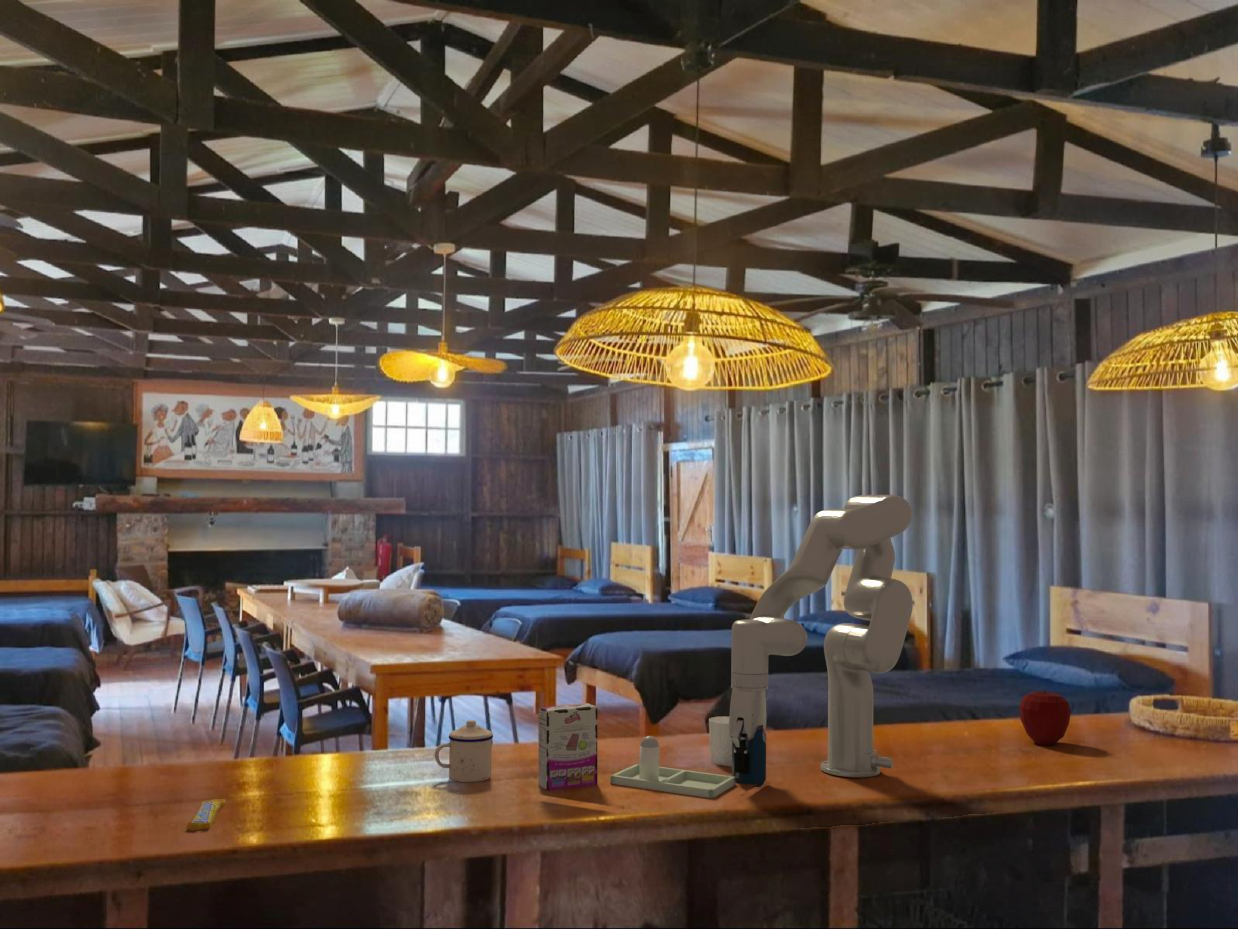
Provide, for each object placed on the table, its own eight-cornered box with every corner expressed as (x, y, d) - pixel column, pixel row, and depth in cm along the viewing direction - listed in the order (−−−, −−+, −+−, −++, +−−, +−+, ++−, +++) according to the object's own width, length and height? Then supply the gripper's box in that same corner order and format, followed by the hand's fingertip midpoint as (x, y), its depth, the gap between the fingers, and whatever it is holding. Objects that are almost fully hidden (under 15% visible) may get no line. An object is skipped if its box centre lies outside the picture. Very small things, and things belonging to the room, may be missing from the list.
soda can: (771, 783, 220) (771, 724, 220) (757, 790, 214) (757, 730, 214) (740, 779, 223) (741, 720, 224) (725, 785, 217) (726, 726, 218)
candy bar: (210, 833, 183) (210, 822, 183) (184, 834, 182) (184, 823, 182) (225, 806, 199) (225, 796, 199) (201, 807, 198) (202, 797, 198)
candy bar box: (587, 783, 218) (588, 702, 218) (598, 789, 213) (599, 706, 214) (536, 789, 212) (537, 706, 213) (546, 795, 208) (547, 710, 209)
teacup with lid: (485, 771, 227) (486, 715, 228) (497, 781, 219) (498, 723, 219) (429, 775, 223) (430, 718, 223) (439, 786, 214) (440, 727, 215)
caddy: (735, 789, 215) (735, 776, 215) (712, 803, 204) (712, 790, 204) (636, 775, 225) (637, 763, 225) (610, 788, 214) (610, 775, 214)
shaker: (662, 779, 218) (662, 735, 218) (653, 784, 214) (654, 739, 214) (644, 777, 219) (645, 733, 220) (635, 781, 216) (636, 736, 216)
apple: (1079, 749, 257) (1079, 693, 257) (1030, 748, 257) (1030, 692, 257) (1059, 738, 269) (1059, 685, 269) (1012, 737, 269) (1012, 684, 269)
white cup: (743, 771, 230) (743, 724, 230) (706, 769, 232) (706, 722, 232) (746, 763, 238) (746, 717, 238) (710, 760, 239) (711, 715, 240)
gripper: (747, 674, 229) (746, 758, 228) (716, 685, 213) (715, 775, 213) (780, 677, 225) (780, 762, 225) (752, 688, 210) (751, 780, 209)
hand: (748, 768), depth 219 cm, fingers closed on soda can, 7 cm apart
